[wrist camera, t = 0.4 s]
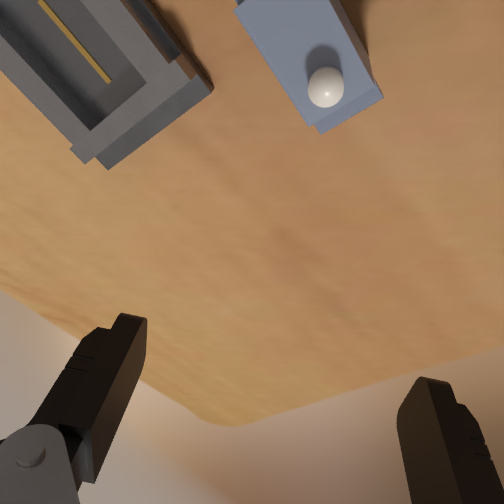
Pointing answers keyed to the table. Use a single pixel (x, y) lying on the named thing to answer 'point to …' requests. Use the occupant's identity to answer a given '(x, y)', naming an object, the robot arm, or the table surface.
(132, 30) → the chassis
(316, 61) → the servo
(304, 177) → the table surface
